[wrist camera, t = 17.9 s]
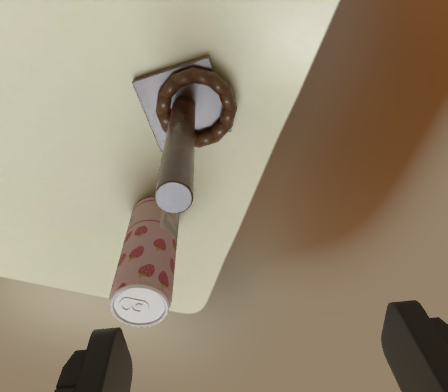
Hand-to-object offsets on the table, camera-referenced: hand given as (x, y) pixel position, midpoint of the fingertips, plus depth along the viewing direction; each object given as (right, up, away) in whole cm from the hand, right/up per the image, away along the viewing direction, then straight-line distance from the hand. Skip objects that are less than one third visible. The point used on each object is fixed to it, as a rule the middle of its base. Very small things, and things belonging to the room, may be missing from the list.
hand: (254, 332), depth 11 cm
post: (-5, +14, +28) cm, 32 cm away
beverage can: (-9, +2, +35) cm, 37 cm away
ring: (-4, +13, +27) cm, 30 cm away
